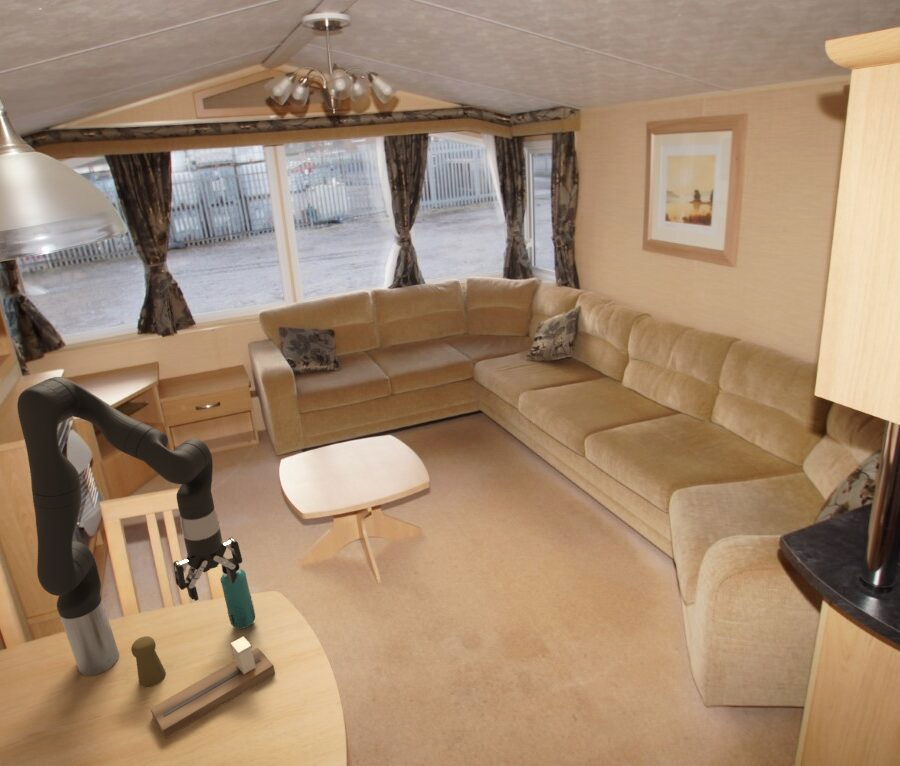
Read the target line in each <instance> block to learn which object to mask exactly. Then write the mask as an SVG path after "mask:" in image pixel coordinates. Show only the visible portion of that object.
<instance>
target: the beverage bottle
mask: <svg viewBox="0 0 900 766" xmlns="http://www.w3.org/2000/svg"><path fill="white" fill-rule="evenodd" d="M232 558H233V557H231V558H228V559H229V560H231V559H232ZM221 569H222V570H221V571H222V573H223V574H222V575H221V577H220V583H221V588H222V592H223V596H224V600H225V605H226V610H227V615H228V618H229V622H230V624H231V626H232V627H233V628H234V629H241V630H242V629H245V628H248V627H249V626H251V625H252V624H253V623H254V622H255V620H256V616H257V615H256V612H255V606H254V601H253V598H252V595H251V590H250V588H249V582H248V578H247V573H246V571H245V570H244V569H242V568H241V567H240V564H237V565H236V566H235V570H236V575H237V578H236V579H235V582H234V583H231V582H230V581H229V579H228V575H227V570H226V567H225V566H224V565H222V564H221Z"/></svg>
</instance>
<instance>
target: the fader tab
mask: <svg viewBox="0 0 900 766" xmlns="http://www.w3.org/2000/svg"><path fill="white" fill-rule="evenodd" d="M230 646H231V648H232V652H233V656H234V661H236V665H237V667H238V668H239V669H240V670H241V672H242V673H243V674H245V673H247V672H249V671H251V670H252V669H254V668H256V666H255V662H254V658H253V653H252V651H253V649H252V648H253V647H252V646H253V645H252V644H250V642H249V641H248V640H247V638H245V636H241V637H240V638H238V639H236V640H234V641H232V642H230Z"/></svg>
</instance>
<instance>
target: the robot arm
mask: <svg viewBox="0 0 900 766" xmlns="http://www.w3.org/2000/svg"><path fill="white" fill-rule="evenodd" d="M17 398H18V399H17V415H18V419H19V422H20V427H21V432H22V435H23V438H24V443H25V449H26V452H27V461H28V466H29V471H30V472H29V473H30V482H31V483H30V485H31V493H32V502H33V503H32V504H33V509H34V515H35V527H36V535H37V564H36V565H37V568H36V569H37V570H36V571H37V580H38V582H39V584H40V586H41V587H42V589H43V590H44V591H46V592H47V593H48V594H51V595H52V596H57V597H58V598H57V601H56V609H57V612H58V614H59V617H60V618H59V619H60V620H61V623H62V626H63V628H64V631H65V634H66V637H67V640H68V643H69V646H70V648H71V651H72V655H73V657H74V660H75V663H76V666H77V668H78V669H77V670H78V671H79V673H80V674H81V675H83V676H95V675H98V674H99V675H100V674H101V673H104V672H106V671H108V670H109V669H111V668H112V667H113V666H114V665H115V664H116V663H117V661H119V658H120V653H119V650H118V649H119V648H118V645H117V642H116V639H115V636H114V633H113V630H112V626H111V624H110V620H109V618H108V615H107V611H106V607H105V605H104V602H103V599H102V595H101V589H102V582H101V578H100V574H99V570H98V565H97V562H96V559H95V557H94V555H93V553H92V551H91V549H90V548H89V547H88V546H87V545H85V544H84V543H82V542H81V541H76V540H73V538H74V533H75V530H76V527H77V524H78V523H77V522H78V519H79V515H80V513H81V511H80V510H81V505H82V488H81V487H82V486H81V478H80V474H79V472H78V470H77V468H76V467H75V466H74V464H73V463H72V462H71V461H70V460H69V459H68V458H67V457H66V456H65V455H64V454H63V453H62V451H61V450H60V446H59V439H58V427H59V425H60V424H61V423H62V422H63V423H64V422H65V421H67V420H69V419H71V418H72V417H73V418H77V419H80V420H81V419H82V420H84V421H87V422H89V423H91V424H93V425H94V426H95V427H97V429H98V430H99V431H100V432H101V434H102V435H103V437H104V438H105V440H106V441H107V442H108V443H109V444H110V445H111V446H112V447H114V449H117V450H118V451H120V452H122V453H123V454H126V455H129V456H131V457H132V458H135V459H137V460H140V461H142V462H144V463H145V464H146V465H147V466H149V468H150V469H152V470H153V471H154V472H155V473H157V474H158V475H160V476H161V478H162V479H164V480H166V481H167V482H169V483H172V484H176V485H180V487H179V488H178V489H177V493H176V502H177V506H178V513H179V516H180V527H181V531H182V535H183V540H184V545H185V549H186V553H187V556H186V558H185V559H184V560H182V561H179V560H175V561H174V562H173V565H172V566H173V572H174V579H175V584H176V585H177V586H178V588H179V589H180V590H181V591H182V590H185V589H187V593H188V594H187V595H188V597H189V598H190V599H191V600H193V601H195V602H196V601H199V594H198V591H197V587H196V583H197V581H198V580H199V579H200V578H201V576H202V574H203V573H206V572H209V571H210V570H212V569H216V568H217V567H219V565H220V564H221V566H222V565H224V566H225V567H226V570H227V575H228V579H229V581H230V582H231V583H234V582H235V579H236V578H237V575H236V570H235V566H236V565H237V564H239V565H240V564H241V563H243V557H242V553H241V550H240V545H239V542H238V541H237V540H236V539H235V538H234V537H233V536H231V537H229V538H228V539H227V540H228V541H226V542H224V543H223V538H222V532H221V526H220V519H219V517H218V513H217V511H216V507H215V502H214V498H213V493H212V483H213V466H214V465H213V462H214V461H213V456H212V452H211V450H210V449H209V447H208V445H207V444H206V443H205V442H204V441H202V440H200V439H197V438H190V439H187V440H184V442H182V443H181V444H180V445H179V446H177V447H176V448H175V449H173V450H171V449H169V448H167V447H168V444H169V439H168V436H167V434H166V433H164V432H163V431H161V430H160V429H157V428H155V427H154V426H153V427H152V426H151V425H148V424H146V423H145V422H143V421H142V422H141V421H140V420H137V419H134V418H132V417H131V416H129V415H127V414H124V413H123V412H122V411H119V410H118V409H116V408H114V407H113V406H112V405H110V404H109V403H108V402H106V401H104V400H103V399H101V398H100V397H98V396H96V395H95V394H93V393H92V392H91V391H89V390H87V389H85V388H84V387H82V385H80V384H78V383H77V382H75V381H73V380H71V379H69V378H66V377H63V376H54V377H51V378H47V379H45V380H43V381H41V382H38V383H36V384H34V385H32V386H30V387H27V388H26V389H24V390H23V391H22V392H21V393H20V394H19V396H18V397H17ZM227 549H228V550H229V551H231V556H232V557H231V558H232V559H231V560H229V559H230V558H227V557H226V556H224V555H225V553H226V552H227ZM188 566H189V569H188V574H187V575H186V577H185V572H186V570H187V567H188Z"/></svg>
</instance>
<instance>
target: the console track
mask: <svg viewBox="0 0 900 766" xmlns="http://www.w3.org/2000/svg"><path fill="white" fill-rule="evenodd" d="M252 653H253V658H254V662H255V666H256V668H254V669H252V670H251V671H249V672H247V673H245V674H243V673H242V672H241V670H240V669H239V668H238V667H237V665H236V661H235V660H234V661H232V662H230V663H229V664H226V665H225V666H223V667H221V668H219V669H218V670H216V671H214V672H212V673H210V674H209V675H207V676H205V677H204V678H201V679H200V680H198V681H196V682H194V683H193V684H191V685H189V686H187V687H186V688H184V689H182V690H180V691H178V692H177V693H175V694H173V695H172V696H170V697H168V698H166V699H165V700H163V701H161V702H160V703H157V704H156V705H154V706H152V707H150V712H151V715H152V718H153V719H154V721H155V723H156V725H157V726H158V728H159V730H160V731H161V733H162V735H163V737H164V738H165V740H166V739H167V738H169V737H171V736H173V735H175V734H176V733H178V732H180V731H182V730H183V729H185V728H186V727H188V726H190V725H191V724H193V723H195V722H196V721H198V720H199V719H201V718H203V717H204V716H206V715H208V714H210V713H211V712H213V711H215V710H216V709H218V708H220V707H222V706H224V705H225V704H226V703H228V702H230V701H231V700H233V699H234V698H236V697H239V696H240V695H241V694H244V693H245V692H247V691H248V690H250V689H251V688H253V687H255V686H257V685H259V684H260V683H261V682H263V681H264V680H266V679H268V678H270V677H272V675H273V676H274V675H275V674H276V672H275V666H274V663H272V662H271V660H269V659H268V657H267V656H266V655H265V654H264V652H262V650H261V649H260V648H259V647H256V648H255V649H252Z"/></svg>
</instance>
